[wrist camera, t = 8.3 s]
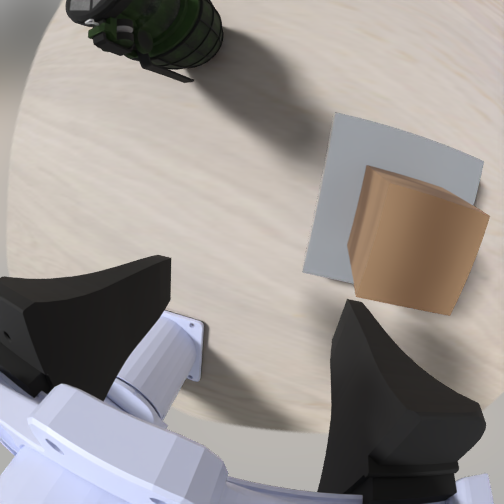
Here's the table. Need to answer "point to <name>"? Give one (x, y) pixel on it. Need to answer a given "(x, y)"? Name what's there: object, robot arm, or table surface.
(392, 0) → the table surface
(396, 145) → the gray block
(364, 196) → the walnut block
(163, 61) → the grenade
